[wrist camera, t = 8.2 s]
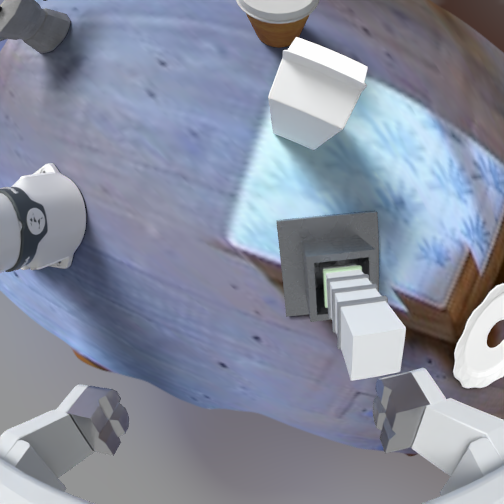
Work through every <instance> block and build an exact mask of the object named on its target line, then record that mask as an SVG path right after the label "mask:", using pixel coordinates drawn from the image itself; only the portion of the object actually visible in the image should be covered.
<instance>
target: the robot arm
mask: <svg viewBox="0 0 504 504" xmlns="http://www.w3.org/2000/svg"><path fill="white" fill-rule="evenodd" d="M85 228H86V210H85V205H84V201H83V198H82V195H81V193H80V191H79V189H78V188H77V186H76V185H75V184H74V183H73V182H72V181H71V180H70V179H69V178H67V177H66V176H64V175H62V174H61V173H60V172H59V171H58V169H57V168H56V166H55V165H54V164H53V163H49V164H46V165H44V166H43V167H42V168H40V169H39V170H38V171H36V172H35V173H34V174H33V175H26V176H22V177H20V180H18V181H17V182H16V183H15V184H14V185H13V186H12V187H4V188H1V189H0V273H2V272H4V271H6V272H11V271H14V270H18V269H20V268H21V269H22V270H26V269H31V270H36V269H37V270H38V269H42V268H44V267H47V266H51V267H57V268H63V269H65V268H69V267H70V265H71V263H72V259H73V254H74V252H75V251H76V249H77V248H78V246H79V245H80V243H81V241H82V239H83V236H84V233H85ZM60 261H61V262H60ZM375 389H376V392H377V394H378V395H377V397H376V398H375V399H374V402H373V417H374V422H375V425H376V428H378V429H380V430H381V435H380V440H381V443H382V446H383V448H384V451H385V453H390V452H394V451H398V450H402V449H406V448H410V447H412V449H413V450H414V451H416V452H417V453H419V454H420V455H421V456H423V457H424V458H425V459H427V460H428V461H429V462H431V463H432V464H434V465H435V466H436V467H438V468H439V469H441V470H442V471H443V472H445V473H447V474H448V475H449V476H451V477H450V478H449V480H448V481H447V483H446V484H445V486H444V487H443V488H442V490H441V492H440V494H441V496H440V497H438V498H435V499H432V500H430V501H427V502H424V503H421V504H504V420H503V419H500V418H497V417H495V416H492V415H490V414H487V413H485V412H482V411H480V410H478V409H475V408H473V407H470V406H468V405H466V404H463V403H461V402H458V401H456V400H454V399H451V398H450V399H446V398H445V396H444V395H443V393H442V392H441V390H440V389H439V387H438V386H437V384H436V383H435V382H434V380H433V379H432V377H431V376H430V374H429V373H428V371H427V370H426V369H425V368H420V369H417V370H413V371H409V372H406V373H402V374H398V375H393V376H389V377H384V378H379V379H378V380H377V382H376V388H375ZM120 400H121V398H120V396H119V395H118V392H117V391H115V390H113V389H107V388H100V387H95V386H87V385H82V384H79V385H76V386H75V388H74V389H73V390H72V391H71V392H70V394H69V395H68V396H67V397H66V398H65V399H64V401H63V402H62V403H61V404H60V406H59V407H58V408H57V409H56V410H51V411H49V412H47V413H44V414H42V415H40V416H38V417H36V418H33V419H31V420H29V421H27V422H24V423H22V424H20V425H18V426H15V427H13V428H10V429H8V430H6V431H5V432H4V433H3V434H2V435H1V436H0V504H95V503H92V502H90V501H87V500H84V499H81V498H79V497H76V496H74V495H71V494H69V493H67V492H65V490H66V487H65V485H64V484H63V483H62V482H61V481H60V480H59V479H58V478H59V477H60V476H62V475H63V474H65V473H66V472H67V471H69V470H70V469H72V468H73V467H74V466H76V465H77V464H78V463H80V462H81V461H83V460H84V459H85V458H87V457H88V456H90V455H91V454H92V453H93V451H94V452H99V453H103V454H108V455H113V456H114V454H115V452H116V450H117V448H118V447H119V445H120V443H121V442H120V438H119V437H120V436H122V435H124V434H125V433H126V431H127V429H128V426H129V416H128V413H127V411H126V409H125V408H124V407H123V406H122V405H121V404H120V403H119V402H120Z"/></svg>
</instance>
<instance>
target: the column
mask: <svg viewBox="0 0 504 504" xmlns="http://www.w3.org/2000/svg"><path fill="white" fill-rule="evenodd" d="M323 282H324V304H325V308H327V307H328V317H329V319H332V327H333V333H336V334H337V346H338V349H341V350H342V353H343V356H344V359H345V362H346V366H347V369H348V372H349V376H350V379H351V381H353V380H359V379H365V378H371V377H377V376H382V375H387V374H393V373H397V372H400V368H401V362H402V355H403V348H404V340H405V332H406V327H405V326H404V325H403V323H402V322H401V321H400V319H399V318H398V317H397V315H396V314H395V313H394V311H393V310H392V309H391V307H390V306H389V305H388V304H387V302H388V298H387V297H386V296H381V295H380V293H379V292H378V291H377V287H378V286H377V285H376V284H372V283H371V282H370V281H369V275H368V274H364V273H363V272H362V267H361V266H360V265H358V266H357V265H356V264H348V265H339V266H330V267H323Z"/></svg>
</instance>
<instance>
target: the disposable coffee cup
mask: <svg viewBox="0 0 504 504" xmlns="http://www.w3.org/2000/svg"><path fill="white" fill-rule="evenodd" d="M236 1H237V3H238V5H239V6H240V8H241V9H242V10H243V11H244V12H245V13H246V14H247V16H248V18H249V20H250V22H251V24H252V26H253V28H254V30H255V32H256V34H257V36H258V37H259V39H260V40H261V41H262V42H263V43H265V44H266V45H269V46H272V47H278V48H279V47H287V46H289V45H291V44H292V42H293V41H294V39H295V38H296V37H299V36H300V34H301V32H302V29H303V27H304V25H305V23H306V21H307V19H308V17H309V15H310V14H311V13H312V12H313V11H314V9H315V8H316V7H317V5H318V3H319V0H236Z"/></svg>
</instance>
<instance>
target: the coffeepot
mask: <svg viewBox="0 0 504 504" xmlns="http://www.w3.org/2000/svg"><path fill="white" fill-rule="evenodd" d="M43 1H46V0H43ZM69 27H70V20H69V18H68V17H67V15H66V14H64V13H61V12H57V11H53V10H50V9H42V8H41V7H40V5H39V4H38V3H37V2H36V1H35V0H5V1H4V2H3V3H2V4H1V5H0V41H2V40H4V39H13V40H17V39H22V40H23V41H24V42H25V43H26V44H28V45H29V46H31V47H32V48H33V49H35V50H36V51H38V52H39V53H40V54H41V53H47V52H50V51H52V50H54V49H55V48H56V47H57V46H58V45H59V44H60V43H61V42H62V41H63V39H64V38H65V36H66V34H67V32H68V30H69Z"/></svg>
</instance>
